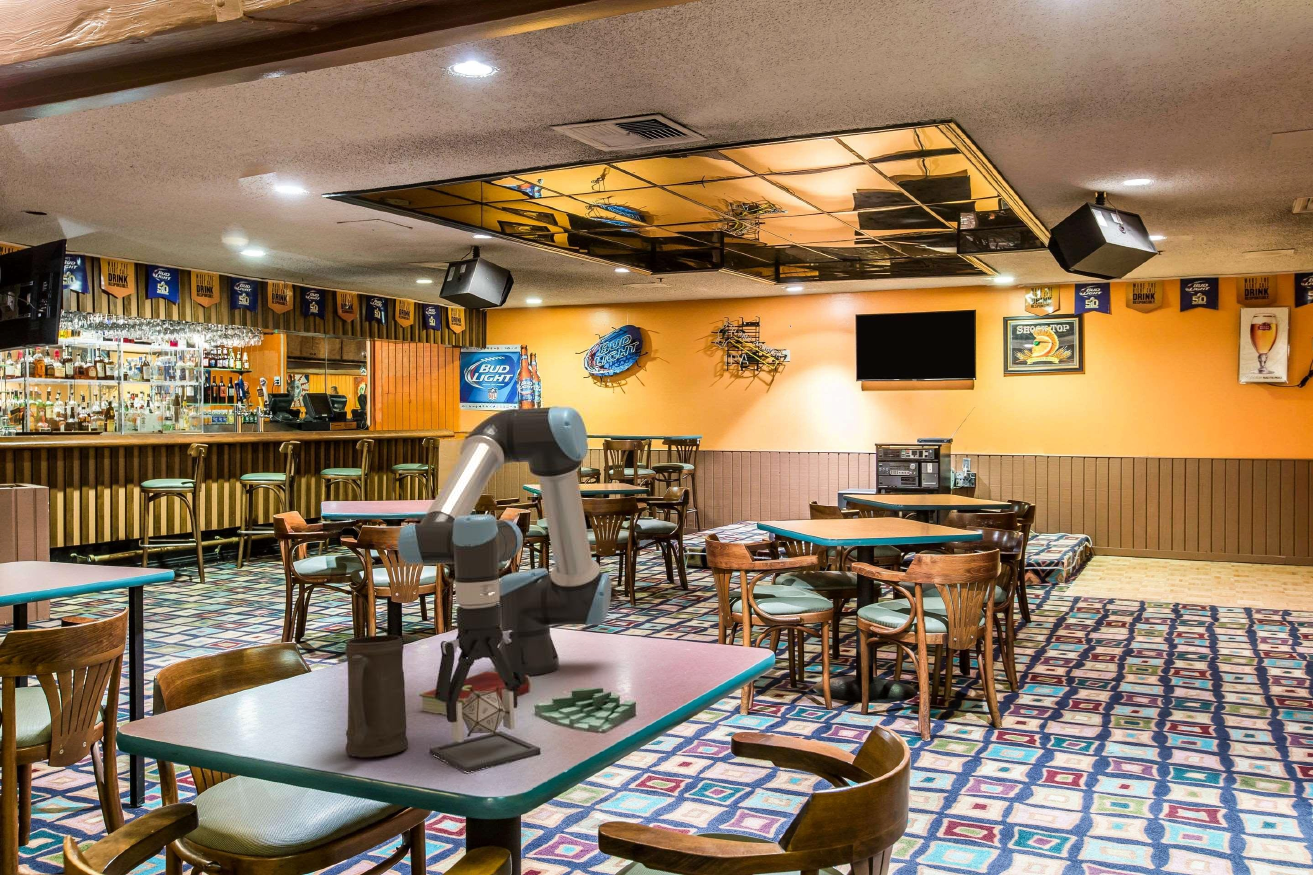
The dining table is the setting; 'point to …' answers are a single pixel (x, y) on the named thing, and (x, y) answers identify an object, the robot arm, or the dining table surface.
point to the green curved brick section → (587, 710)
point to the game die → (483, 711)
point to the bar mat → (485, 751)
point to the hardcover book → (477, 683)
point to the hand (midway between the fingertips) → (483, 733)
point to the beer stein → (376, 696)
